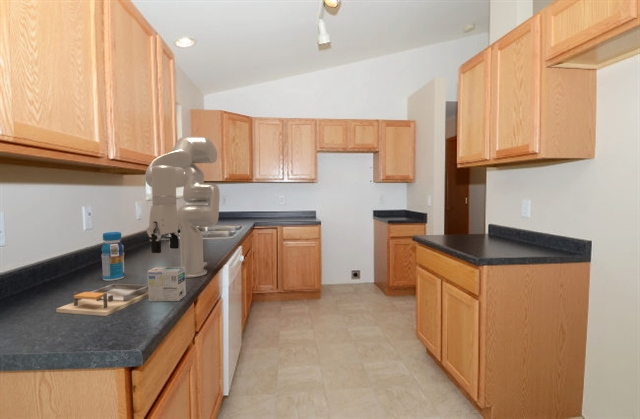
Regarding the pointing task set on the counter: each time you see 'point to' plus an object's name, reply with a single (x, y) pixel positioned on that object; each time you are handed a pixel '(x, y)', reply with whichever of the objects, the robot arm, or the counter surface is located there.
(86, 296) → the latch plate
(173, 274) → the light bulb box
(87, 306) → the rail mount
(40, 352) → the counter surface
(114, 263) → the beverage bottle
